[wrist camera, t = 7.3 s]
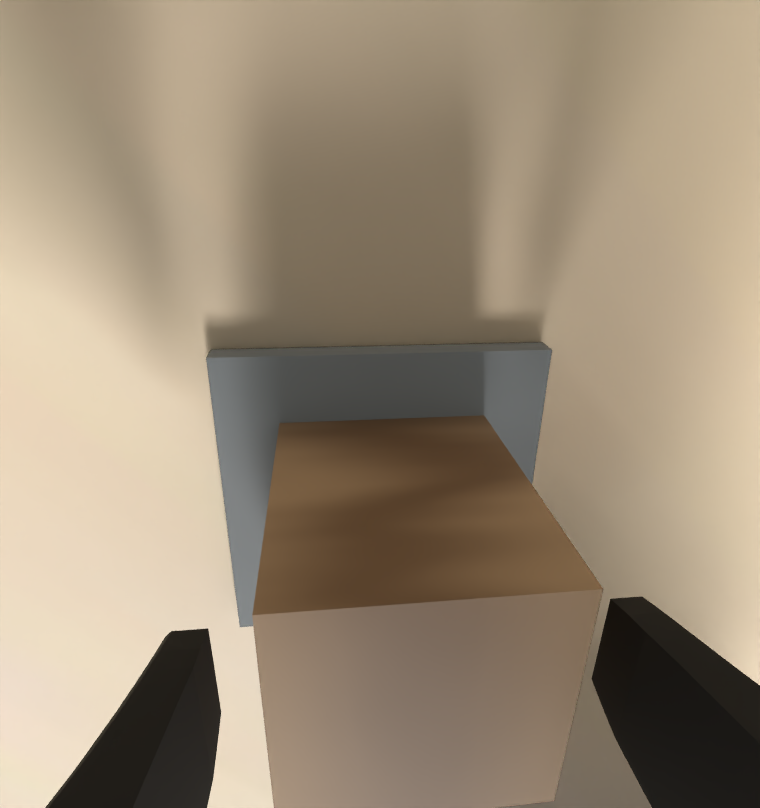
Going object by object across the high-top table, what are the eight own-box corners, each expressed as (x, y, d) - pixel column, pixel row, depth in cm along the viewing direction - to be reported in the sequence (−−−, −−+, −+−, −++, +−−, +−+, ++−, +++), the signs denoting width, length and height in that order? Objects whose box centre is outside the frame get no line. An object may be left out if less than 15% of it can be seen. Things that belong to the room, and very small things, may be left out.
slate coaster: (542, 342, 13) (551, 349, 13) (507, 591, 16) (513, 606, 16) (211, 349, 12) (206, 358, 12) (242, 611, 16) (239, 627, 15)
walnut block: (484, 415, 13) (603, 589, 8) (468, 574, 15) (554, 800, 10) (279, 422, 13) (252, 615, 7) (291, 586, 15) (276, 834, 9)
